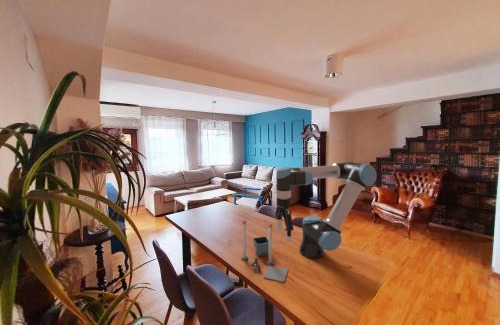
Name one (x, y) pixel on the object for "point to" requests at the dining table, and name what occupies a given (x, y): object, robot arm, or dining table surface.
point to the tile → (276, 274)
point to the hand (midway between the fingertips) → (283, 235)
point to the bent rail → (256, 265)
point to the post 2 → (270, 246)
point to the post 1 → (244, 241)
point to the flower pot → (261, 245)
